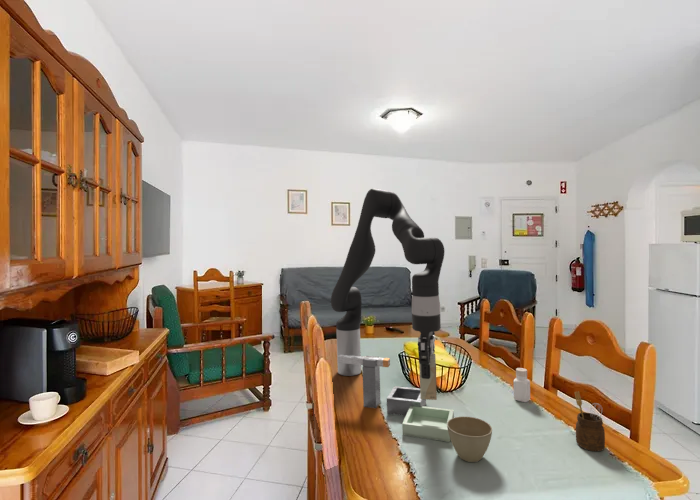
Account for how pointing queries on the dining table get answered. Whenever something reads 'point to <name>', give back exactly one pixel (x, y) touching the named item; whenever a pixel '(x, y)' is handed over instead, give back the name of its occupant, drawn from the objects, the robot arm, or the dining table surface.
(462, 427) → the flower pot
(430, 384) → the box
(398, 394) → the collar
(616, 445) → the dining table surface
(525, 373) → the white pill bottle
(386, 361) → the bar
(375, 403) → the post
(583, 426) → the utensil holder
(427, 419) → the tray
